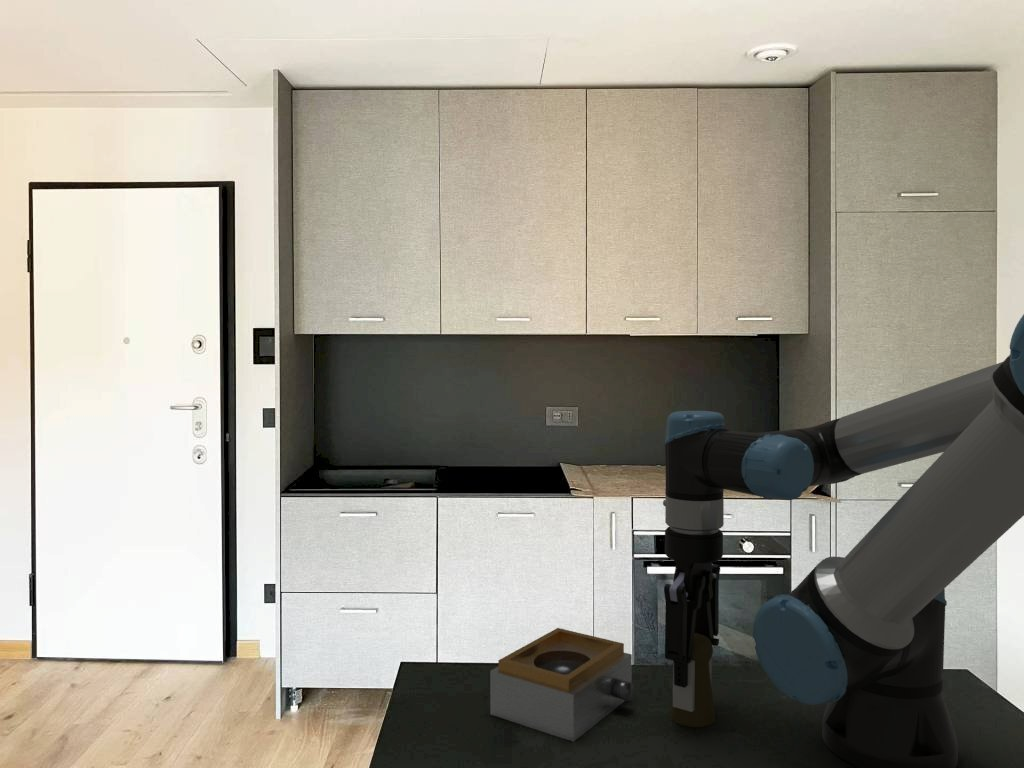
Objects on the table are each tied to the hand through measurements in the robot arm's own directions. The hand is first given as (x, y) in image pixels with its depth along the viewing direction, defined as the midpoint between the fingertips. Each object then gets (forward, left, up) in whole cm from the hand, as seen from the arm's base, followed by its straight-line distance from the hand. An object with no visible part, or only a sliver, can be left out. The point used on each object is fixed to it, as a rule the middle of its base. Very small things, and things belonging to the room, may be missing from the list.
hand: (692, 699), depth 107 cm
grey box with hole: (+15, +7, -2) cm, 17 cm away
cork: (0, 0, -2) cm, 2 cm away
